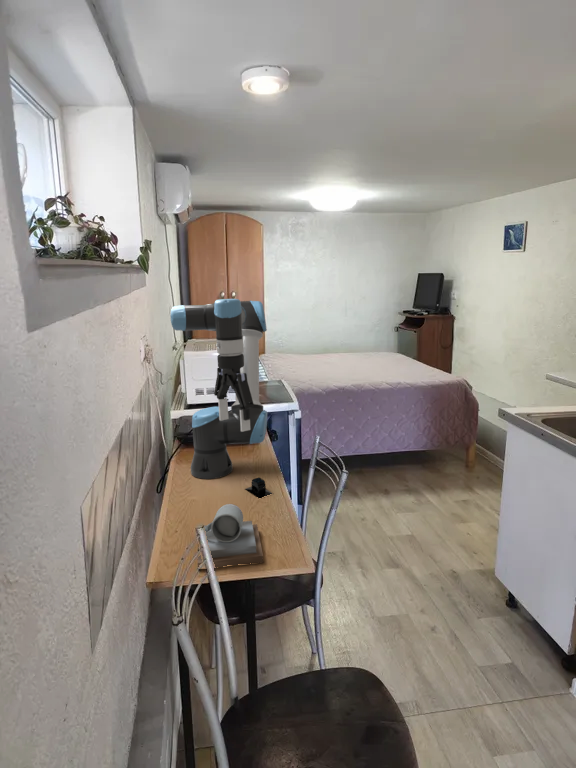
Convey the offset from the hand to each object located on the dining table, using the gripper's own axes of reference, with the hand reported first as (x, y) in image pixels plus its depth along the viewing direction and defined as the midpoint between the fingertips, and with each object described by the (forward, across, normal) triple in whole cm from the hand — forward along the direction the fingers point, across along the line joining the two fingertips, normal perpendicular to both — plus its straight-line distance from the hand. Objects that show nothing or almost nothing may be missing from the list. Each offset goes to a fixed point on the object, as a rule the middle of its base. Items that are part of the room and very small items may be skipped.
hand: (234, 424), depth 145 cm
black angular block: (+28, -6, +11) cm, 30 cm away
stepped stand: (+27, +19, -13) cm, 35 cm away
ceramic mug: (+23, +18, -14) cm, 33 cm away
